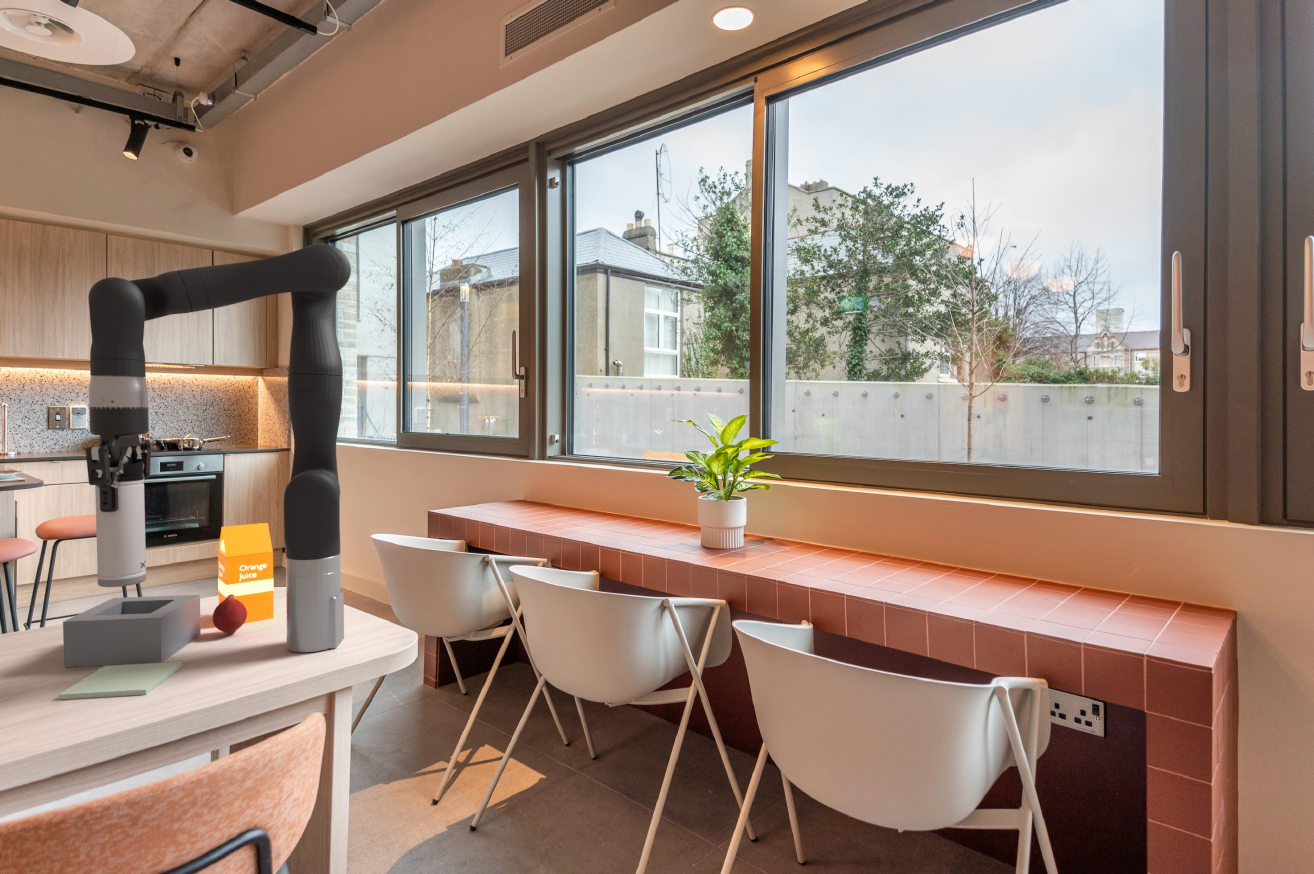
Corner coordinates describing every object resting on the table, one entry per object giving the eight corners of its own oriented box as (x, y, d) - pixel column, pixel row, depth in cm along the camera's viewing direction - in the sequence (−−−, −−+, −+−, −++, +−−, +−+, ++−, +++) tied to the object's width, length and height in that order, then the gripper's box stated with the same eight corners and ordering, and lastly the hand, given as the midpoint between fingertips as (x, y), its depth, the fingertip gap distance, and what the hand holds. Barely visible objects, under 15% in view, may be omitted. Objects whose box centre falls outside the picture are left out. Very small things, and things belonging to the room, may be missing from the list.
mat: (183, 666, 120) (183, 661, 120) (146, 694, 109) (146, 689, 109) (104, 670, 118) (104, 665, 118) (58, 699, 106) (58, 694, 106)
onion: (230, 640, 134) (230, 599, 133) (205, 637, 135) (204, 597, 135) (254, 630, 139) (253, 591, 139) (229, 628, 141) (228, 589, 140)
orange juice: (218, 617, 148) (217, 524, 147) (264, 609, 154) (263, 520, 153) (226, 626, 142) (225, 529, 141) (274, 618, 148) (273, 525, 147)
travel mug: (157, 579, 114) (154, 459, 114) (111, 589, 108) (108, 462, 108) (134, 575, 117) (131, 457, 116) (89, 584, 111) (85, 460, 110)
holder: (200, 634, 137) (199, 594, 136) (161, 662, 122) (160, 617, 122) (114, 638, 134) (113, 597, 133) (64, 667, 119) (63, 621, 119)
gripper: (120, 405, 105) (122, 515, 106) (167, 405, 119) (169, 502, 120) (63, 404, 104) (66, 516, 104) (118, 404, 118) (121, 502, 119)
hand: (121, 508), depth 112 cm, fingers closed on travel mug, 6 cm apart
